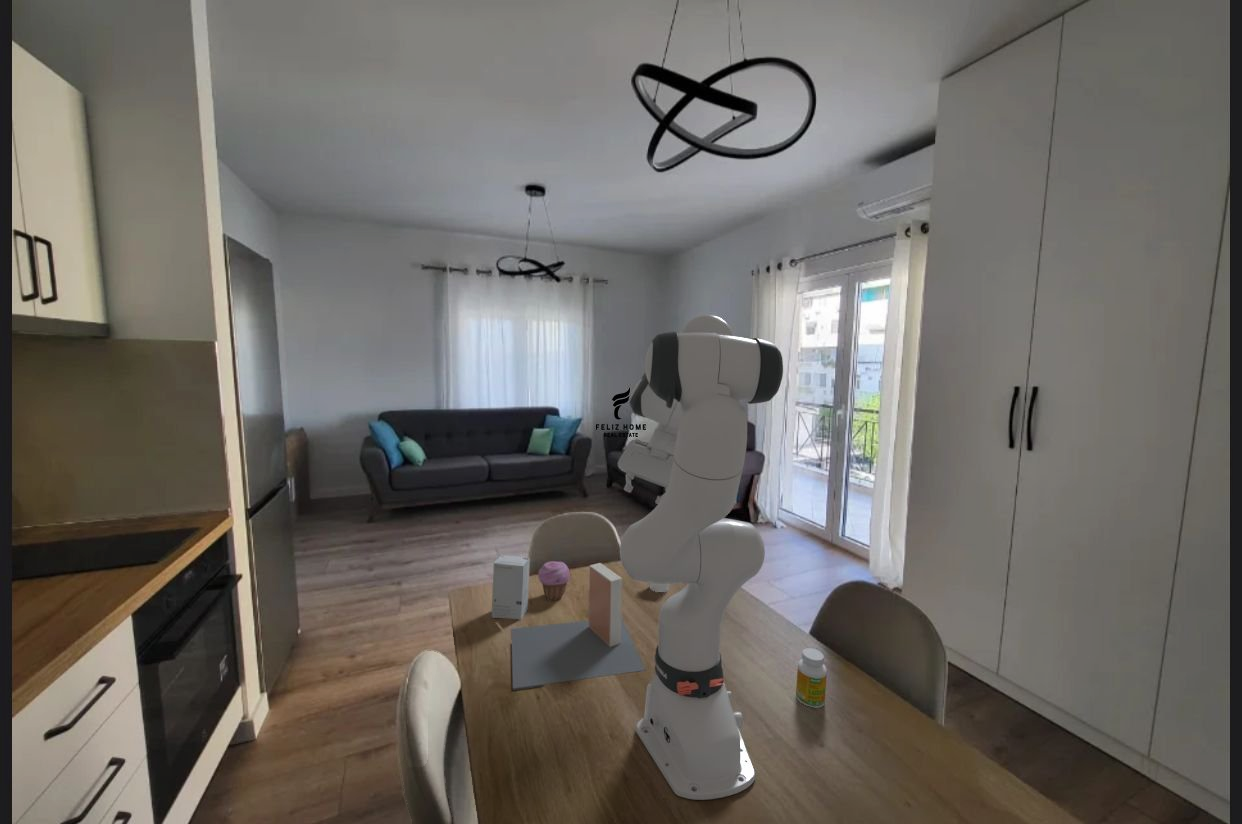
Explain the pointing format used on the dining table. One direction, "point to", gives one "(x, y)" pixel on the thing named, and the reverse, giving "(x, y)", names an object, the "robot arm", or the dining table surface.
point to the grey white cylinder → (659, 587)
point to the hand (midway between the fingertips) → (642, 497)
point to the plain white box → (605, 603)
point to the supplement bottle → (811, 678)
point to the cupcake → (554, 579)
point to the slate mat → (568, 654)
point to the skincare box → (510, 587)
